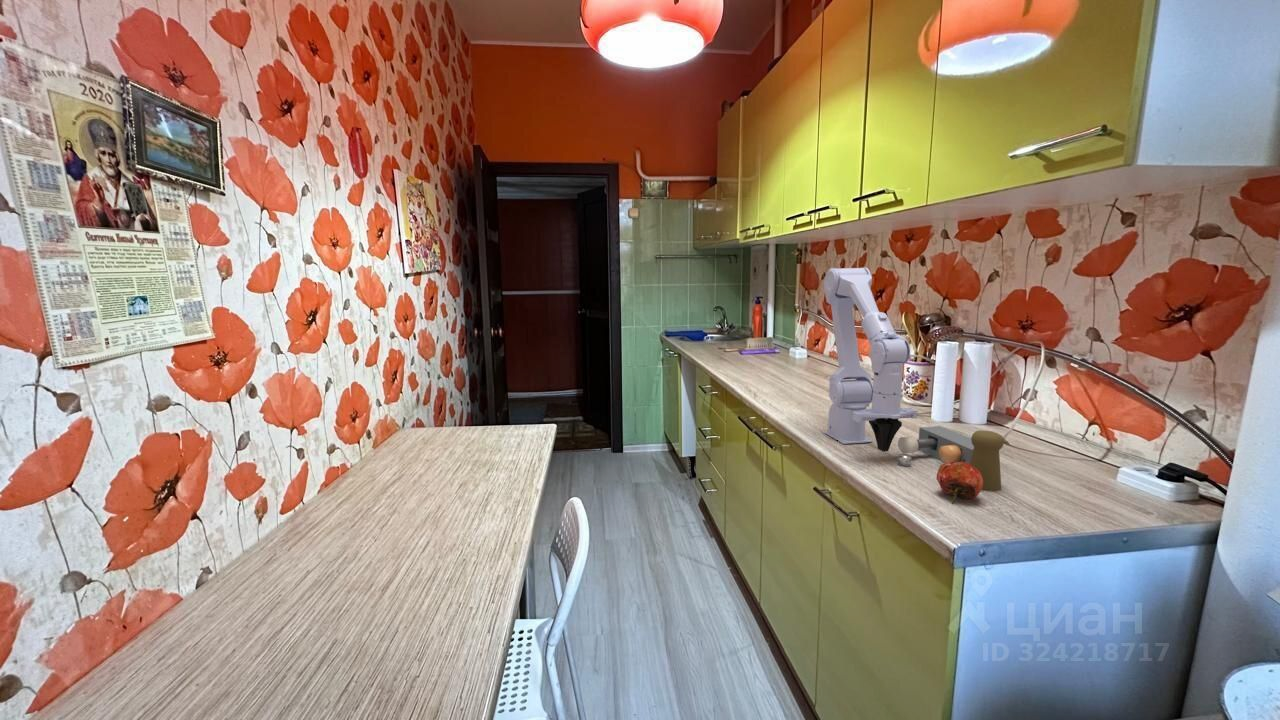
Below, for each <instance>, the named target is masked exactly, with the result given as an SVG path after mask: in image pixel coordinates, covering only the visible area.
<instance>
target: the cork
mask: <svg viewBox="0 0 1280 720" xmlns="http://www.w3.org/2000/svg"><path fill="white" fill-rule="evenodd" d="M970 438H971V441H972V444H973V446H974V449H973V452H972V456H971V460H970V465H971V466H973V467H975V468H976V469H978V470H979V472H980V473H981V475H982V478H983V488H982V490H981V491H986V492H998V491H1001V489H1002V478H1001V477H1002V475H1001V461H1000V460H1001V459H1000V450H1001V449H1003V446H1004V443H1005V440H1004V437H1002V434H999V432H995V431H990V430H982V429H981V430H976V431H974V433H972V436H971V437H970Z"/></svg>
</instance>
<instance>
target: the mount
mask: <svg viewBox="0 0 1280 720" xmlns="http://www.w3.org/2000/svg"><path fill="white" fill-rule="evenodd" d="M932 438H937V439H938V443H937V447H930V448H918V450H917V451H920V452H922V453H924V454H927V455H928V456H930V457H933V458H935V459H937V460H939V461H941V462H943V461H942V460H941V458H940V456H939V449H940V447H941V446H948V445H956V446H958V447H959V448H961V449H962V458H961V460H960V461H959V462H962V460H965V462H966V463H968V464H970V460H971V456H972V452H973V449H974V446H973V444H972V441H971V437H969V436H967V435H963V434H962V433H960V432H957V431H954V430H951V429H948V428H946V427H944V426H941V425H936V426H923V427H919V430H918V439H932Z"/></svg>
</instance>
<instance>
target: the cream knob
mask: <svg viewBox="0 0 1280 720" xmlns="http://www.w3.org/2000/svg"><path fill="white" fill-rule="evenodd" d="M937 443H938V439H937V438H932V439H919V438H918V439H917V438H916V437H914V436H912V435H911V436H901V437H899V438H898V440H897V446H898V450H899V451H900V452H901V454H908V453H910V454H911V453H912V454H913V453H916V452H917V451H919V450H918V448H930V447H937Z"/></svg>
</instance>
